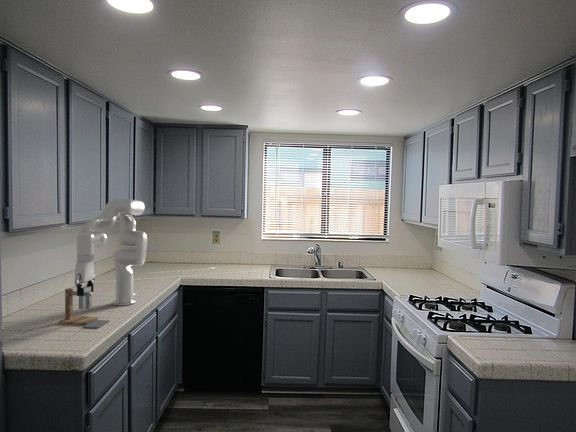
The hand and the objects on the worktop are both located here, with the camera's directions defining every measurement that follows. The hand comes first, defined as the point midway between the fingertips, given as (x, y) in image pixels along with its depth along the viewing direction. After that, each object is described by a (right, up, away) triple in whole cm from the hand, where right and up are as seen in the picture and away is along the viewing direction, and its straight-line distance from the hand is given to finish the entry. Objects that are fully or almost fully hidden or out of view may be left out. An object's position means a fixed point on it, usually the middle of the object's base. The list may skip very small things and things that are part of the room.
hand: (85, 293), depth 208 cm
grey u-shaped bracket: (0, -8, 0) cm, 8 cm away
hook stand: (-4, -14, +1) cm, 14 cm away
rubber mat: (+7, -14, -3) cm, 16 cm away
